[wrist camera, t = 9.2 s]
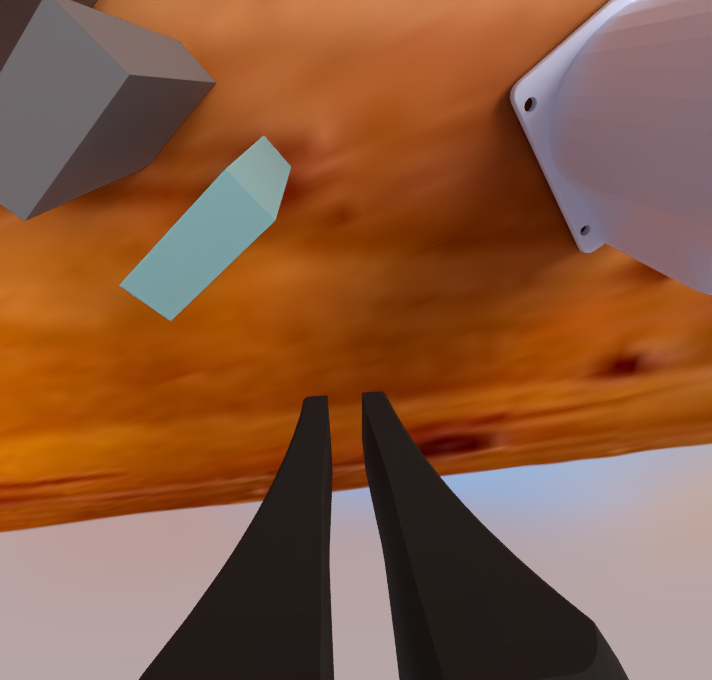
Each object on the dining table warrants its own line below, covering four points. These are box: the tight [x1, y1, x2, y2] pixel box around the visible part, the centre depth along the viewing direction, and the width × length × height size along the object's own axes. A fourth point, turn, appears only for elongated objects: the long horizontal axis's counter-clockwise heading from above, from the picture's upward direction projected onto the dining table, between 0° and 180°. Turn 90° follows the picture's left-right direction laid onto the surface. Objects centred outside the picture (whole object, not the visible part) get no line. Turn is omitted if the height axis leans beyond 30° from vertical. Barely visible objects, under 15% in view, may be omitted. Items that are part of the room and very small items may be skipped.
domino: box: [0, 0, 216, 221], centre depth 11 cm, size 2×4×8 cm, turn 130°
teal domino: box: [119, 135, 291, 321], centre depth 13 cm, size 2×4×8 cm, turn 130°
